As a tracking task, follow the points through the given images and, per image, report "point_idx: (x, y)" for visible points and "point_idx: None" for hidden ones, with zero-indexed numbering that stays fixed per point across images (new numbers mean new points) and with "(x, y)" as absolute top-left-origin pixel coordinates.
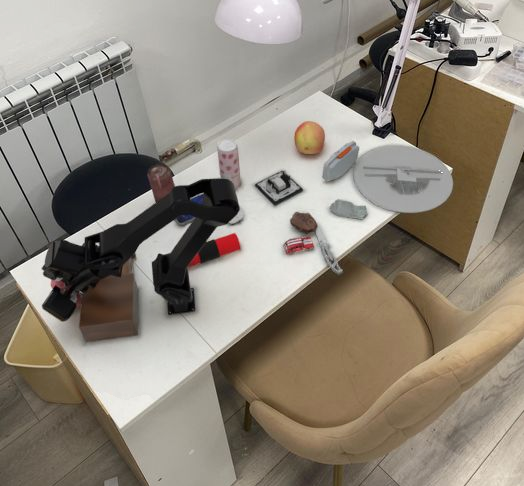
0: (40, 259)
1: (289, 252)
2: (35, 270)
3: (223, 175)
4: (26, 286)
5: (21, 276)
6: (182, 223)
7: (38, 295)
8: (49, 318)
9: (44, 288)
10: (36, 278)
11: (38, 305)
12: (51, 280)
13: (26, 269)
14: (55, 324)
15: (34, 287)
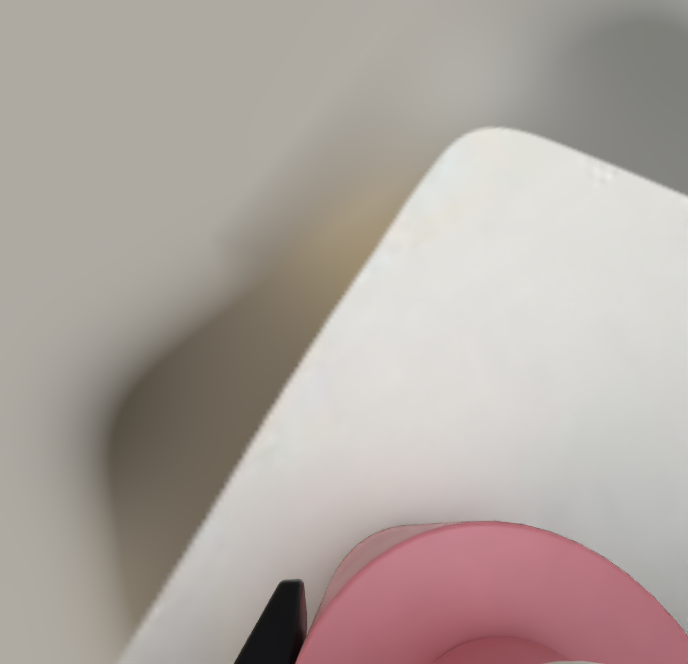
0: (622, 171)
1: None
2: (538, 190)
3: None
4: (413, 208)
5: (463, 144)
6: None
7: (381, 315)
8: (230, 508)
9: (445, 320)
10: (490, 228)
11: (310, 361)
12: (440, 534)
13: (519, 142)
14: (190, 594)
15: (426, 255)
